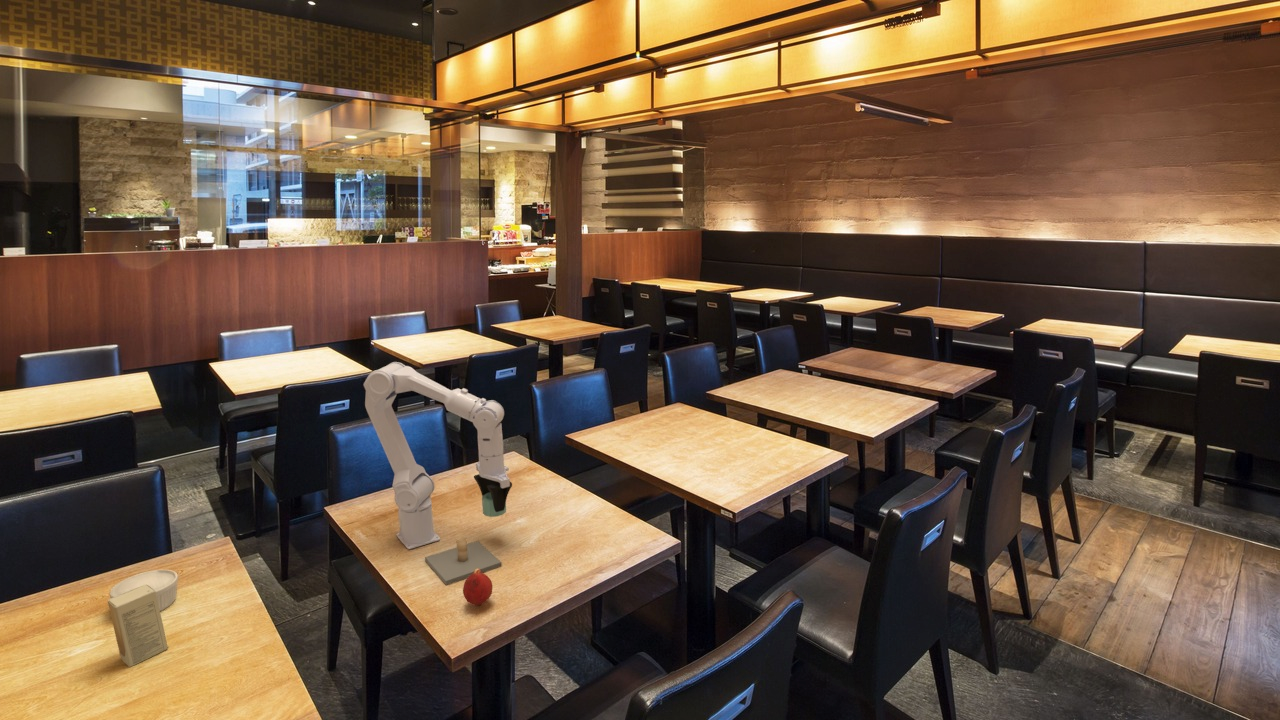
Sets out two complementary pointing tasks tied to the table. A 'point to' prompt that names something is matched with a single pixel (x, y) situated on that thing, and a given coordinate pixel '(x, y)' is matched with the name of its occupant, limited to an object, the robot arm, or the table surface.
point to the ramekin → (151, 585)
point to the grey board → (462, 563)
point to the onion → (477, 588)
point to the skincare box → (137, 624)
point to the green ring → (490, 506)
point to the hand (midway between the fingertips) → (494, 506)
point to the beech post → (462, 549)
